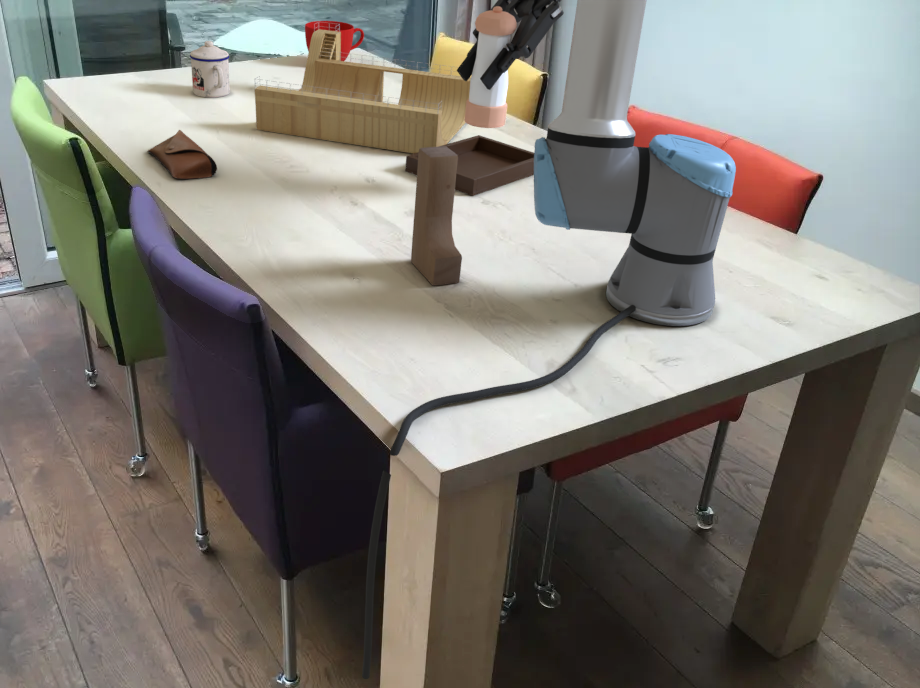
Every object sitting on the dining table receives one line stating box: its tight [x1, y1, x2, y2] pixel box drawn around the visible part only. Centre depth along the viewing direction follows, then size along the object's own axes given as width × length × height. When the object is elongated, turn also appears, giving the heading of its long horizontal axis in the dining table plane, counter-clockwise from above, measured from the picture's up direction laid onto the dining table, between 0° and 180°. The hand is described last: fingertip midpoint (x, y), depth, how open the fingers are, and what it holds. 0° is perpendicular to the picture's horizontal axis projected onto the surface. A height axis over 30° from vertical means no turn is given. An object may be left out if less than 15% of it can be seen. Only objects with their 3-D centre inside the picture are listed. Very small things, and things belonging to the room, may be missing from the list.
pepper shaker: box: [465, 6, 518, 129], centre depth 156 cm, size 7×7×19 cm
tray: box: [404, 134, 534, 197], centre depth 176 cm, size 22×17×3 cm
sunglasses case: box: [147, 129, 218, 180], centre depth 172 cm, size 18×7×7 cm
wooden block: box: [410, 146, 463, 287], centre depth 132 cm, size 9×4×18 cm, turn 20°
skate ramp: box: [253, 22, 471, 154], centre depth 198 cm, size 40×35×16 cm
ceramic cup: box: [304, 20, 365, 61], centre depth 243 cm, size 13×17×10 cm
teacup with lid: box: [189, 40, 231, 99], centre depth 211 cm, size 12×9×12 cm
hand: (473, 79), depth 155 cm, fingers closed on pepper shaker, 5 cm apart
